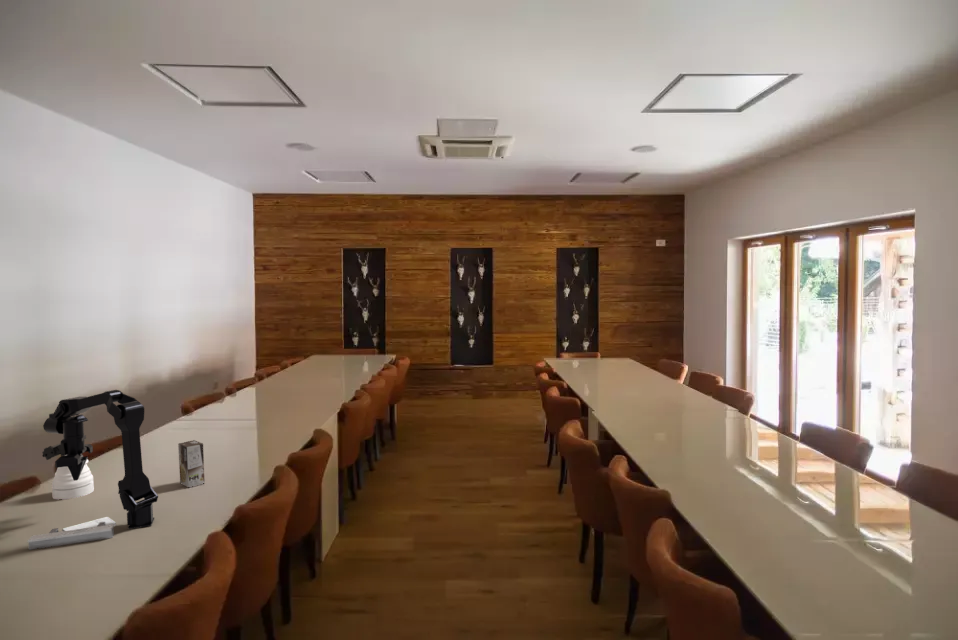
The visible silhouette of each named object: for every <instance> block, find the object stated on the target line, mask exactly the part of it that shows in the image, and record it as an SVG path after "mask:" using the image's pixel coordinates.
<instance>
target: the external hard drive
mask: <svg viewBox="0 0 958 640" xmlns="http://www.w3.org/2000/svg"><path fill="white" fill-rule="evenodd" d="M100 522H105V525H112V524H114V527H115V526H117V522H116V521H115V520H113V519H112V518H110V517H109V516H104V517H100V518H97V519H93V520H90V521H85V522H82V523H79V524H75V525H70V526H67V527H64V528H62V530H61V532H62V531H69V530H76V529H83V528H90V527H97V526H98V524H99V523H100Z"/></svg>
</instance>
